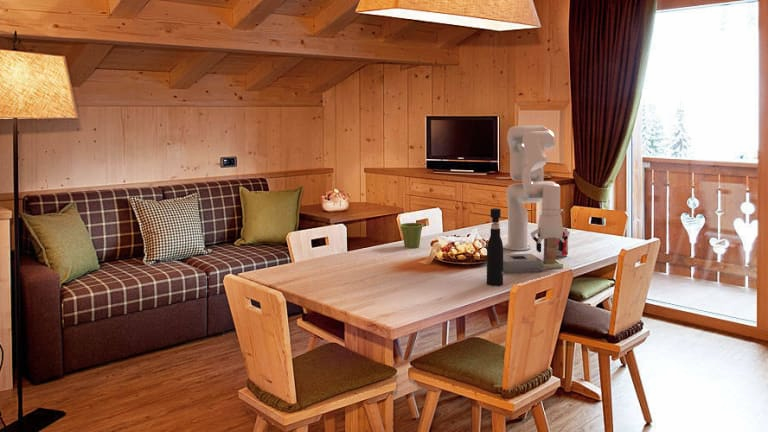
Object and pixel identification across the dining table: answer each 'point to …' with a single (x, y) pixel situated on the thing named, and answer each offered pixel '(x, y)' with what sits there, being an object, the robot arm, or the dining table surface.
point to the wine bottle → (495, 252)
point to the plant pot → (411, 234)
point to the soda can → (565, 250)
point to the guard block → (521, 263)
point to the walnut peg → (550, 251)
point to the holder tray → (552, 265)
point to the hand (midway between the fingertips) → (549, 251)
